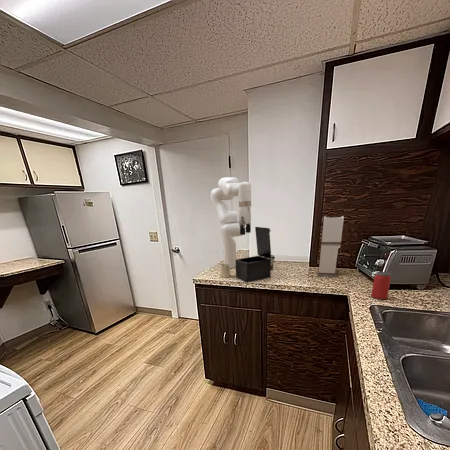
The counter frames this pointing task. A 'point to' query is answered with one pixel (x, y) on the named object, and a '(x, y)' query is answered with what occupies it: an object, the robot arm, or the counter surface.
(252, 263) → the black lidded box
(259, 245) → the black box lid
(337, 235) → the stepped grey pillar
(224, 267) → the cup
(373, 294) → the beer can
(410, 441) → the counter surface
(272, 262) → the food container
